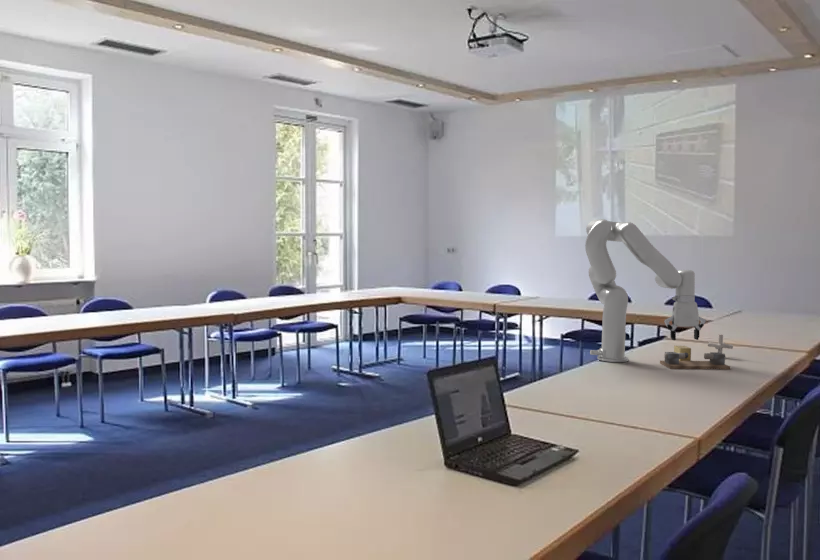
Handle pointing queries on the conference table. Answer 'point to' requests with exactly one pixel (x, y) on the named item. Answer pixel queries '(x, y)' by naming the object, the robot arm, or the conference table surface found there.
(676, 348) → the block
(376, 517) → the conference table surface
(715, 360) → the shaft stand
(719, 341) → the pipe connector
